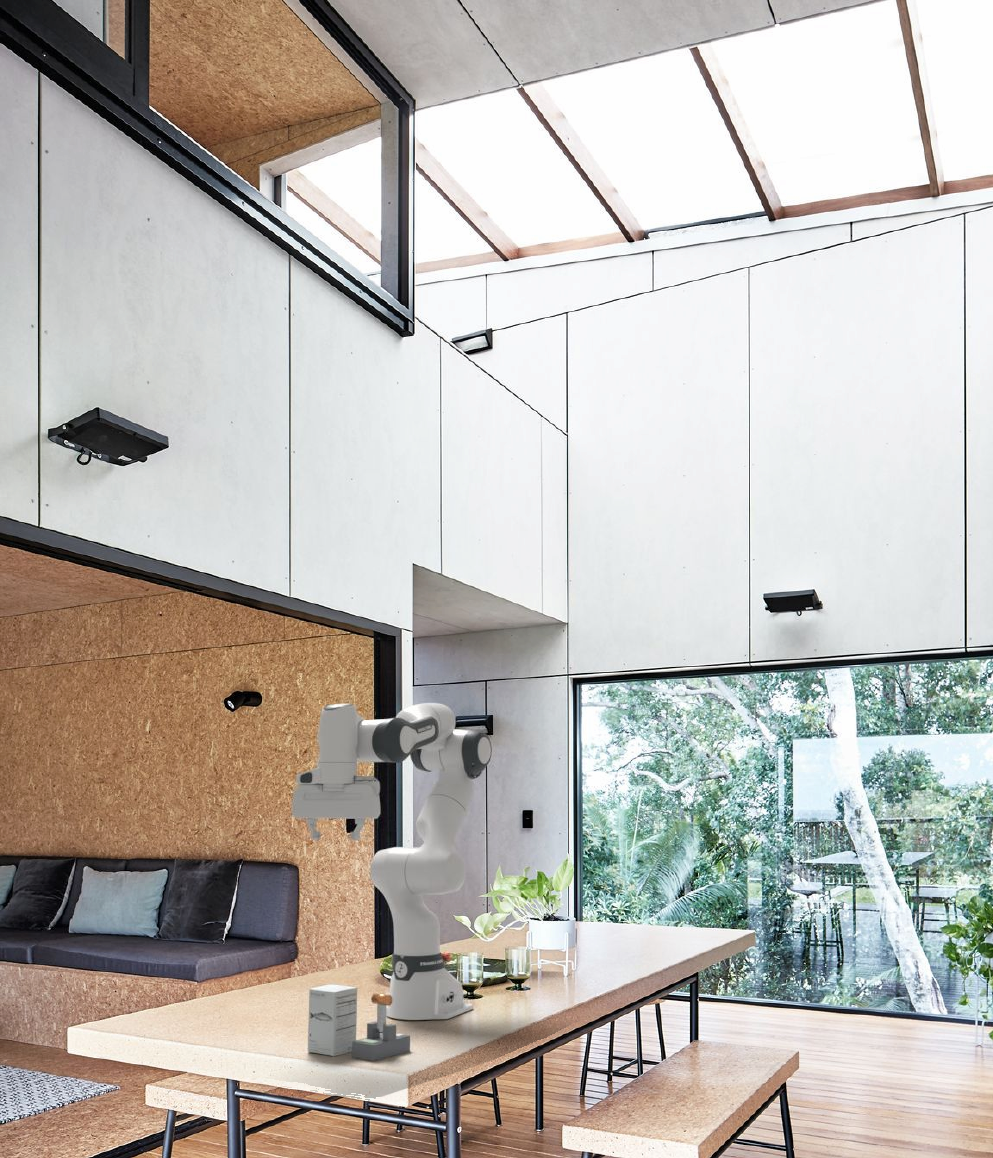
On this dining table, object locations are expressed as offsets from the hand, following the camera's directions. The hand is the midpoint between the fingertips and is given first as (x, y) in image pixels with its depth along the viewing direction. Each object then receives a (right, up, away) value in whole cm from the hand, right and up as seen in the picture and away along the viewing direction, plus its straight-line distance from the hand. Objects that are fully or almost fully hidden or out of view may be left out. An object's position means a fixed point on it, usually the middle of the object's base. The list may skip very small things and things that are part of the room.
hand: (335, 839), depth 251 cm
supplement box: (+2, -40, -15) cm, 43 cm away
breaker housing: (+12, -40, -18) cm, 45 cm away
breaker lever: (+12, -35, -17) cm, 41 cm away
